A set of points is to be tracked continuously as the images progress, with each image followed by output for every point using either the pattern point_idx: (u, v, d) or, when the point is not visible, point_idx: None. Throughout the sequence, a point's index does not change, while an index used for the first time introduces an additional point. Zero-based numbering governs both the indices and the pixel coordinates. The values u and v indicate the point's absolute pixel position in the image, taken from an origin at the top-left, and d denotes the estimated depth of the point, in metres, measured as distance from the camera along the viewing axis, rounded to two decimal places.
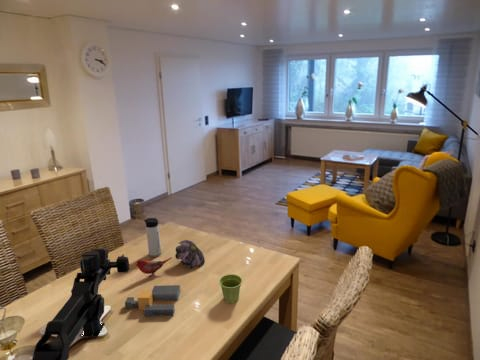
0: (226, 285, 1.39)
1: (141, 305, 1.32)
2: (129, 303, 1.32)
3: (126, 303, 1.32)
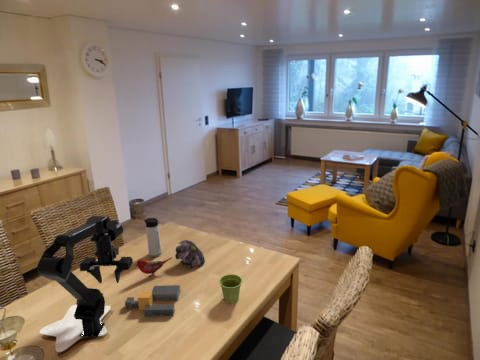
0: (226, 285, 1.39)
1: (141, 305, 1.32)
2: (129, 303, 1.32)
3: (126, 303, 1.32)
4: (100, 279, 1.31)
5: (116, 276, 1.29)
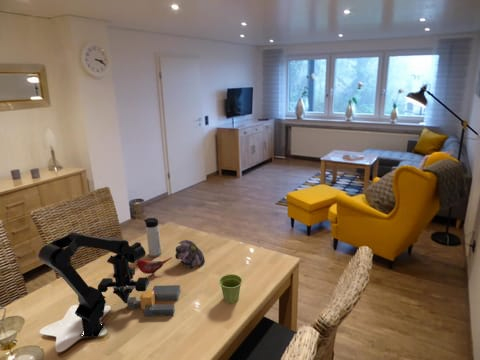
0: (226, 285, 1.39)
1: (143, 305, 1.32)
2: (131, 303, 1.32)
3: (128, 303, 1.32)
4: None
5: (125, 297, 1.31)
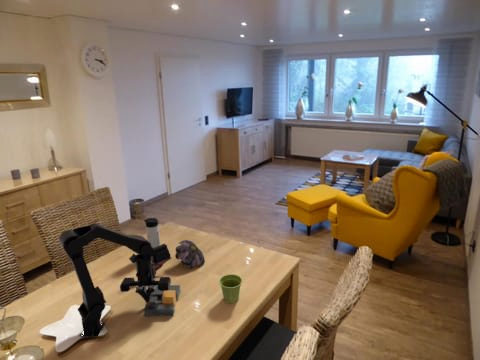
0: (226, 285, 1.39)
1: None
2: (153, 303, 1.32)
3: (150, 303, 1.32)
4: None
5: (147, 296, 1.31)
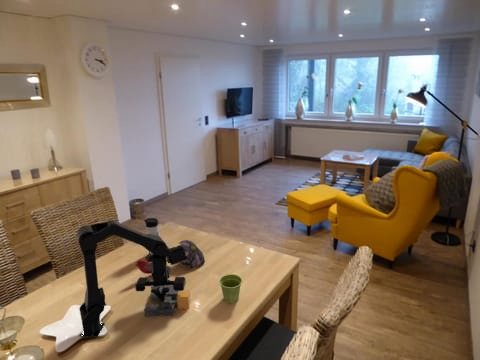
0: (226, 285, 1.39)
1: (180, 305, 1.32)
2: (168, 302, 1.32)
3: (165, 302, 1.32)
4: None
5: (162, 296, 1.31)
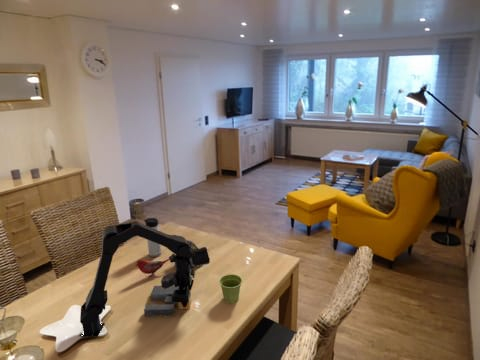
0: (226, 285, 1.39)
1: (181, 305, 1.32)
2: (169, 302, 1.32)
3: (166, 302, 1.32)
4: None
5: None
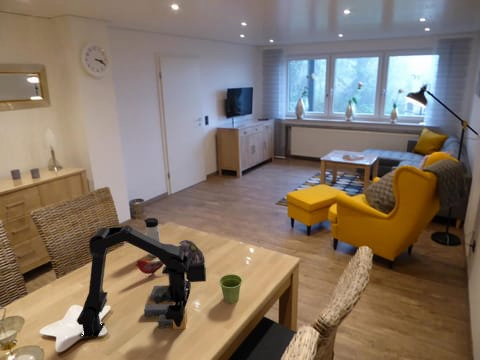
0: (226, 285, 1.39)
1: (175, 324, 1.21)
2: (163, 322, 1.22)
3: (159, 322, 1.22)
4: None
5: None
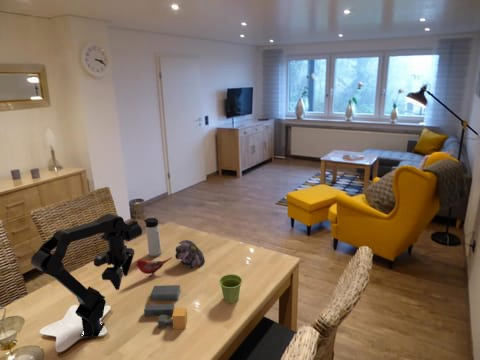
0: (226, 285, 1.39)
1: (175, 324, 1.21)
2: (163, 322, 1.22)
3: (159, 322, 1.22)
4: None
5: None
